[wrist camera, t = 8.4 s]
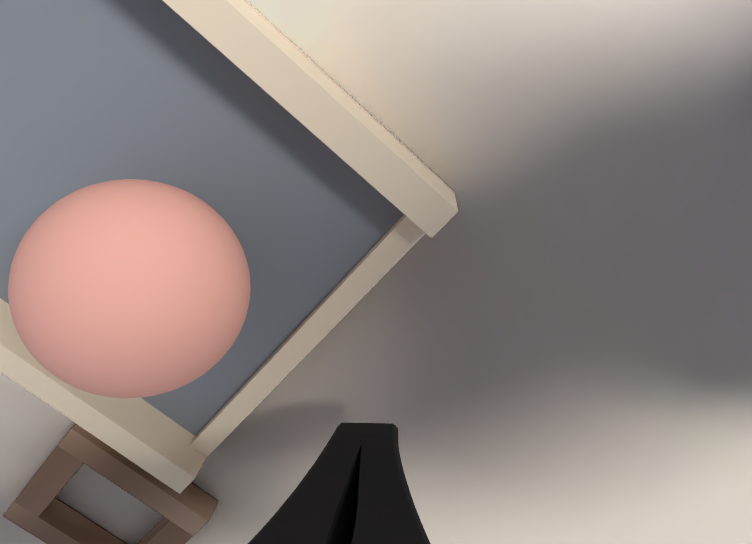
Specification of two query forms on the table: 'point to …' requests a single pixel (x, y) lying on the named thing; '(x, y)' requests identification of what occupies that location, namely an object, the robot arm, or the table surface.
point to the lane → (203, 189)
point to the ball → (129, 288)
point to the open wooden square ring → (83, 537)
